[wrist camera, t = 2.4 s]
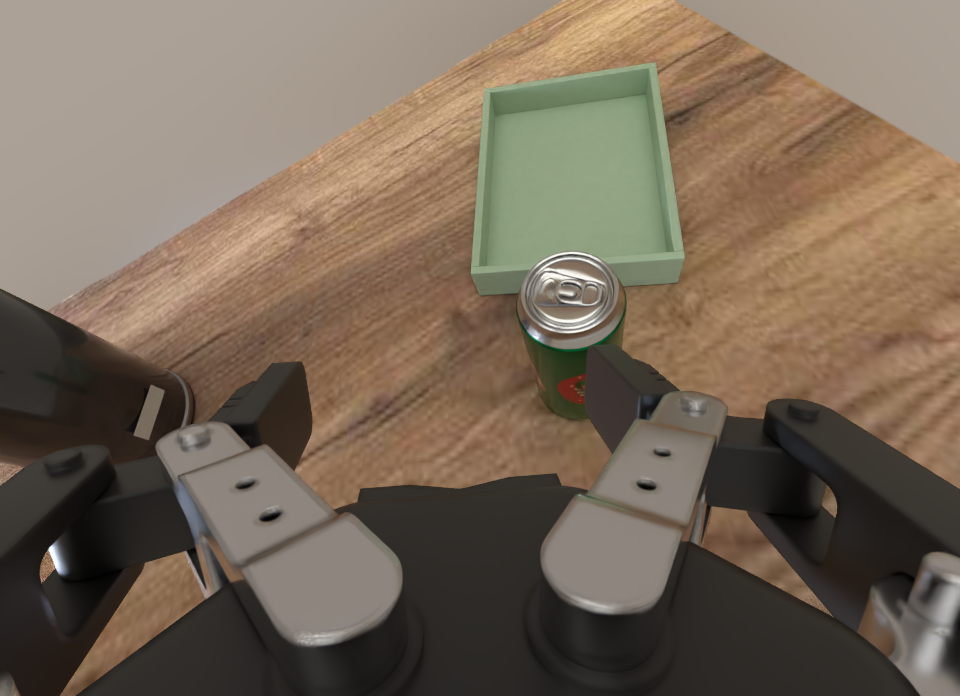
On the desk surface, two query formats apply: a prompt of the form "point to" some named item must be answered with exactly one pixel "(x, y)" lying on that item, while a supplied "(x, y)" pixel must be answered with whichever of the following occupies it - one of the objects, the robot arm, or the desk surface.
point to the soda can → (568, 323)
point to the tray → (576, 179)
